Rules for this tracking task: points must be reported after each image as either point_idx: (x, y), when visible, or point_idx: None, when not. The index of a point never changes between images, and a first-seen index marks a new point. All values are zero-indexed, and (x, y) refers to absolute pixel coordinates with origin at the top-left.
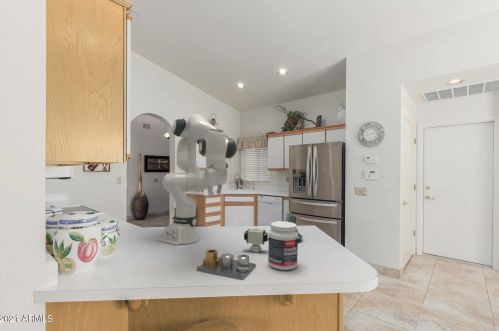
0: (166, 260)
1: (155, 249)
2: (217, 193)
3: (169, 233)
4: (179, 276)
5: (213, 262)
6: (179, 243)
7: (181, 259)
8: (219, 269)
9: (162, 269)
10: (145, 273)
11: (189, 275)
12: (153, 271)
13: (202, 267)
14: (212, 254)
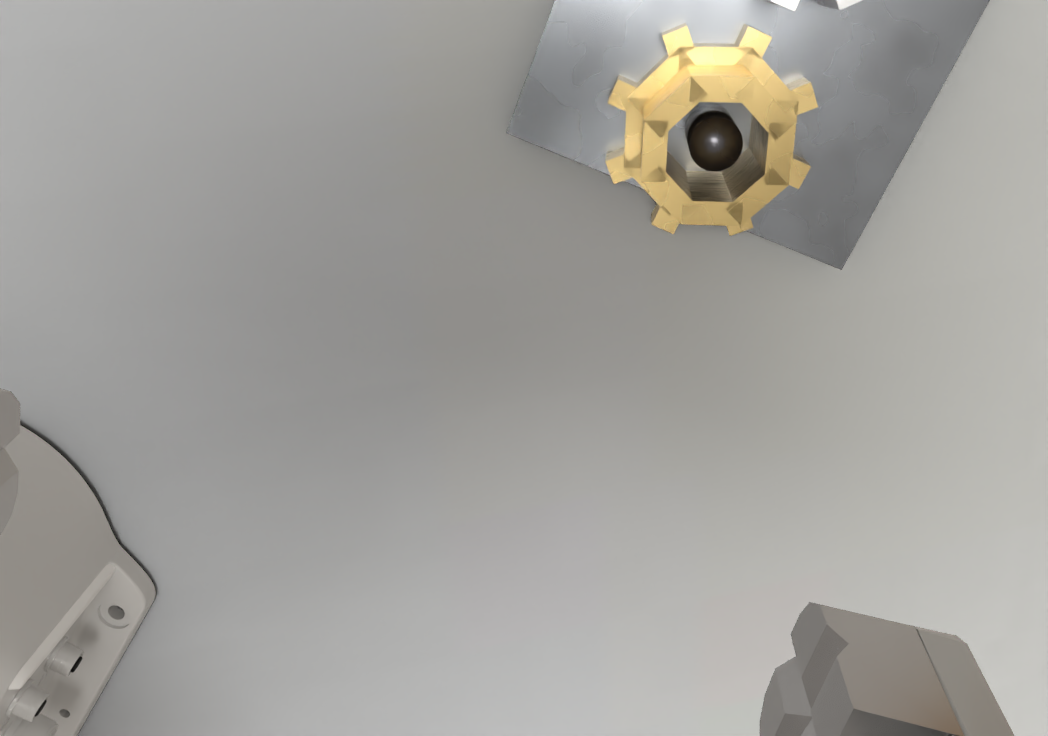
0: (573, 578)
1: (304, 725)
2: (7, 494)
3: (41, 730)
4: (958, 392)
5: (812, 98)
6: (127, 566)
7: (541, 457)
8: (915, 4)
9: (786, 563)
10: None
11: (946, 308)
12: None
13: (840, 210)
14: (793, 130)
